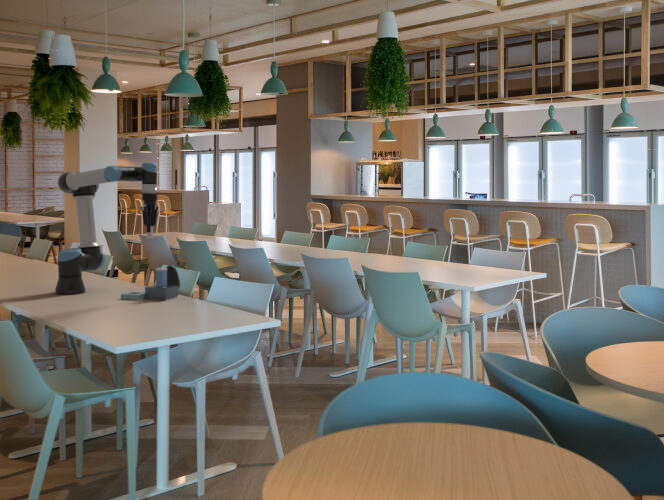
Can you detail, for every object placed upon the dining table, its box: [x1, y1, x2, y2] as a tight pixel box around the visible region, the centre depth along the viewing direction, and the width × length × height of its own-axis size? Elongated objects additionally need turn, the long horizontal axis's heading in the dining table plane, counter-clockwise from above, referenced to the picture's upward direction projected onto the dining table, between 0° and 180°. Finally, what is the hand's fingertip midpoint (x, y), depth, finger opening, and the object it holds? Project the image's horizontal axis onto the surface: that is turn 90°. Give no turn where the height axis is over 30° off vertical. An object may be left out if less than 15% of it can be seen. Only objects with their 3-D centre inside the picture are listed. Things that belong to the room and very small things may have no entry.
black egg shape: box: [165, 265, 181, 292], centre depth 372 cm, size 10×10×15 cm
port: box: [144, 284, 179, 301], centre depth 357 cm, size 12×12×6 cm
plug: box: [155, 267, 167, 287], centre depth 356 cm, size 4×4×14 cm
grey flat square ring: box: [120, 291, 145, 301], centre depth 355 cm, size 10×10×2 cm
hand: (150, 238), depth 359 cm, fingers closed
